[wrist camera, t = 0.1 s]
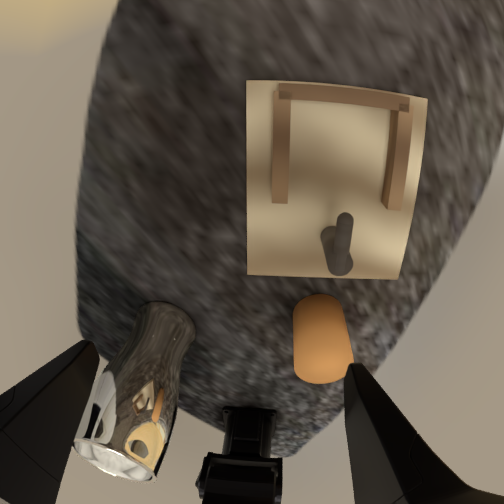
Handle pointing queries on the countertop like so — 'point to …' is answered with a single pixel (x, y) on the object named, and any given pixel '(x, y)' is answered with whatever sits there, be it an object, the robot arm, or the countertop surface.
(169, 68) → the countertop surface
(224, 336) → the countertop surface
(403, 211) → the hook board
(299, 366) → the orange rounded capsule
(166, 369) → the silver tall piece
